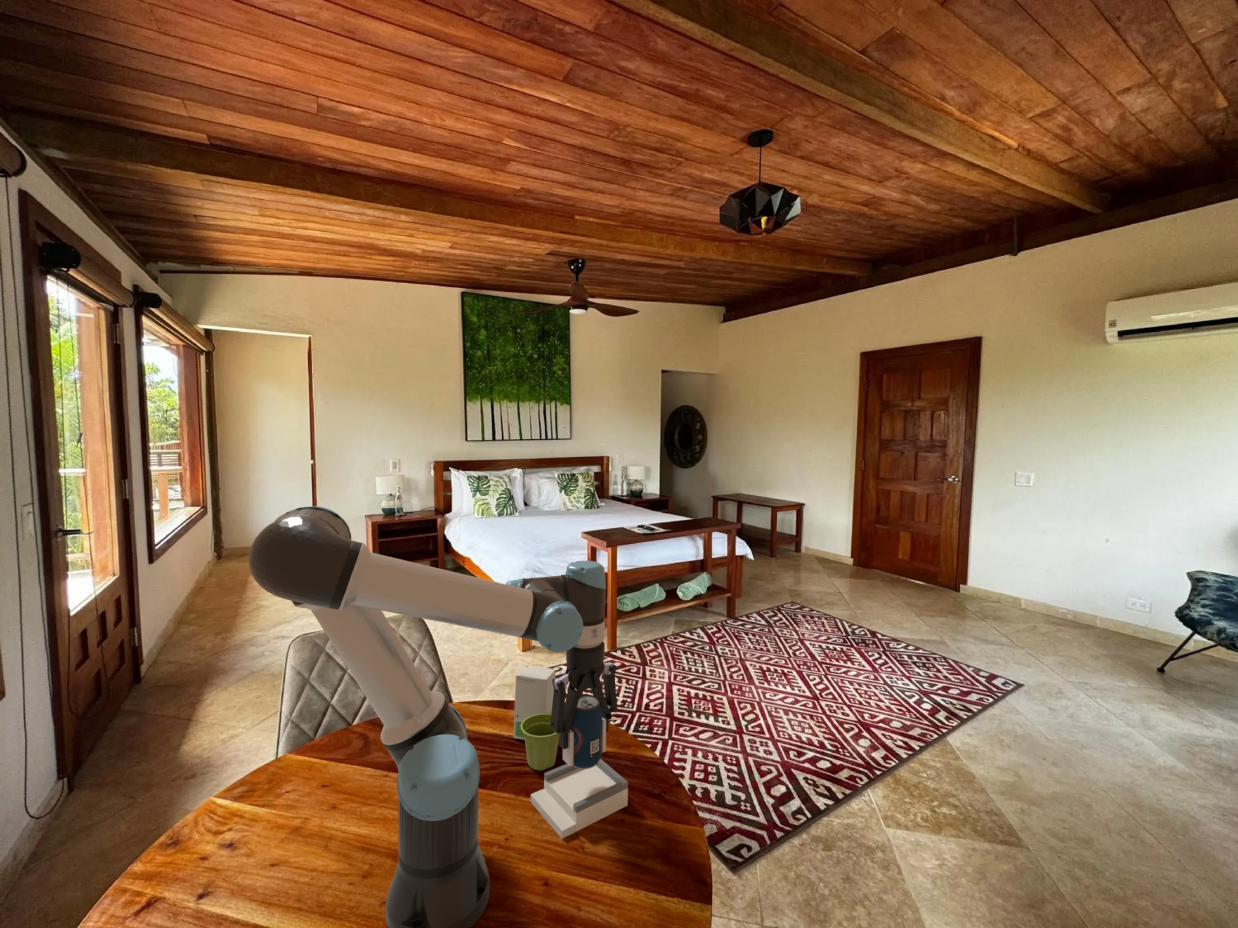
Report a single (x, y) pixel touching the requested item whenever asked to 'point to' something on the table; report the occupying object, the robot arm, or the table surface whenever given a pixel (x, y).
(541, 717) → the plant pot
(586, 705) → the soda can
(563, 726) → the robot arm
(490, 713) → the table surface
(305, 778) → the table surface
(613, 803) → the dock
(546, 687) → the skincare box
